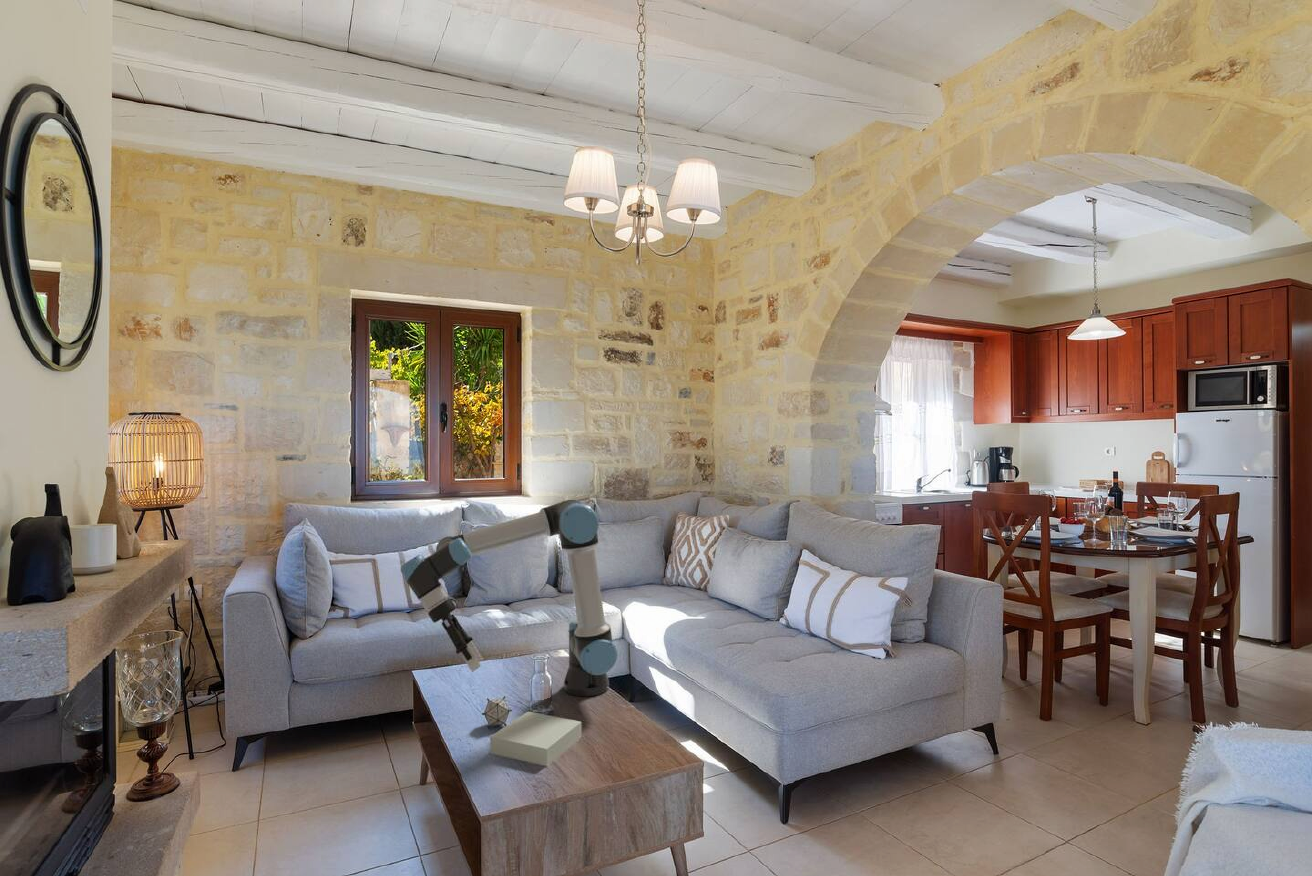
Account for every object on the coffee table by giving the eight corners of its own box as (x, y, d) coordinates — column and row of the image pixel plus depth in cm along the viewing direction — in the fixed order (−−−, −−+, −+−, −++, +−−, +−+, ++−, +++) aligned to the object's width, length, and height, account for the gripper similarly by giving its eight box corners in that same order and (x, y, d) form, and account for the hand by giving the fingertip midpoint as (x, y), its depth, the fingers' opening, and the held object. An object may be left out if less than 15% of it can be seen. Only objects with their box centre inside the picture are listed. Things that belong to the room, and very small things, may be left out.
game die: (500, 740, 205) (502, 721, 199) (475, 727, 207) (476, 709, 201) (515, 715, 212) (518, 696, 206) (491, 703, 214) (493, 684, 208)
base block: (528, 728, 206) (528, 711, 205) (581, 739, 198) (581, 721, 198) (490, 755, 189) (490, 736, 189) (547, 768, 182) (547, 749, 182)
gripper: (431, 609, 216) (469, 667, 215) (421, 615, 192) (463, 680, 191) (453, 595, 218) (490, 652, 217) (445, 599, 194) (487, 663, 193)
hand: (478, 665), depth 204 cm, fingers open, 13 cm apart
